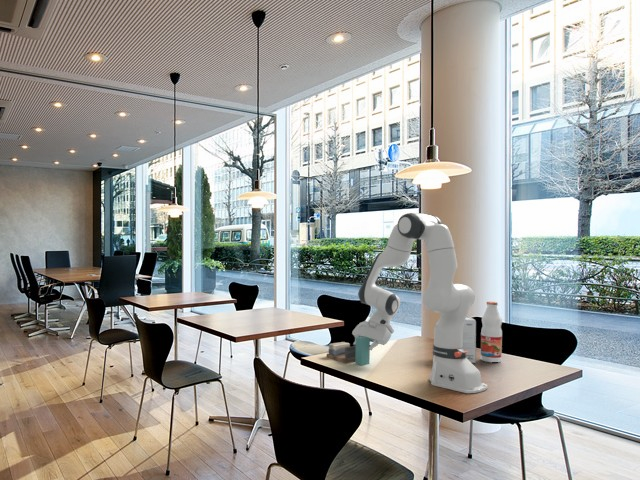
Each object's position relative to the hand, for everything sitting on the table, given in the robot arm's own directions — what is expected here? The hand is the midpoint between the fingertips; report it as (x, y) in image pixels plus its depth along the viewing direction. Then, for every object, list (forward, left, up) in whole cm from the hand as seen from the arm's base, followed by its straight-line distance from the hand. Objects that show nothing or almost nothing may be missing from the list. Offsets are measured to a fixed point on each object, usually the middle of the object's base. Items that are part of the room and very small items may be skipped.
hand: (362, 347), depth 209 cm
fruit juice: (-30, -56, -8) cm, 64 cm away
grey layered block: (+11, 0, -7) cm, 14 cm away
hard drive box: (-21, -42, -8) cm, 48 cm away
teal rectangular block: (0, 0, -7) cm, 7 cm away
